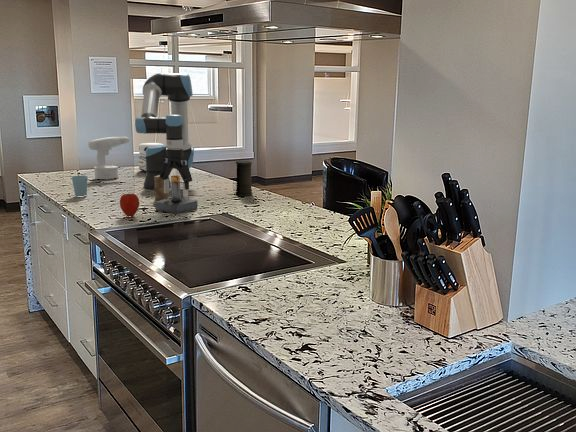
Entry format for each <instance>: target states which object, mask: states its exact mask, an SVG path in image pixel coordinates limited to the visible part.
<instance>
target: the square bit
mask: <svg viewBox="0 0 576 432" xmlns="http://www.w3.org/2000/svg"><path fill="white" fill-rule="evenodd" d="M159 176H160V175H158V176H154V185H155V189H154V200H155V199H156V200H155V201H160V200H165V199H169V198H170V197H169V193H170V192H169V193H164V186H163V179H162V178H160V177H159Z"/></svg>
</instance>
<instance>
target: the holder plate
mask: <svg viewBox="0 0 576 432" xmlns="http://www.w3.org/2000/svg"><path fill="white" fill-rule="evenodd" d="M180 200H181V202H172V197H169V199H165V200H155V202H154V210H155V209H156V210H155V211H158V210H161V211H160V212H163V211H165V212H164V213H168V212H169V213H168V214H174V215H179V213H180V214H184V213H187V212H191V211H194V210H198V209H199V208H198V204H199V203H198V200H196V199H190V198H185V197H180Z"/></svg>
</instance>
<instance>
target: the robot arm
mask: <svg viewBox="0 0 576 432" xmlns="http://www.w3.org/2000/svg"><path fill="white" fill-rule="evenodd" d="M142 95H143V99H142V100H143V101H142V107H141V114H140V117H136V118H135V121H134V123H135V124H134V127H135V132H136V133H137V134H143V135H144V134H165V139H166V140H165V141H166V144H163V145H157V146H152V147H148V148H147V149H146V156H145V157H146V172H145V173H146V175H145V178H144V182H143V188H145V189H148V190H155V185H154V176H158V175H160V176H159V177H160V178H162V179H163V186H164V193H170V188H171V178H170V175H171V172H172V171H173V169H176V170H177V171H178V173H179V176H180V178H182V181H183V182H182V198H185V197H188V196H189V189H190V182H193V178H192V173H191V171H190V168H192V167H193V164H194V163H193V162H194V154H195V148H194V147H192V144H191V143H190V141H189V116H188V113H189V112H188V102H189V101H191V97H193V88H192V80H191V77H190V75H189V74H187V73H181V72H179V73H177V72H176V73H175V72H173V73H171V72H170V73H167V72H166V73H165V72H163V73H162V72H160V73H159V72H158V73H155V74H154V75H152V76H150V77H148V78H147V80H146V81H145V82H144V84H143V87H142ZM160 97H167V100H168V101H169V102H170V106H171V107H170V108H171V109H170V111H171V114H166V115H165V117H158V114H159V113H158V110H159V103H160V102H159V101H160Z"/></svg>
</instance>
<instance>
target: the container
mask: <svg viewBox="0 0 576 432" xmlns="http://www.w3.org/2000/svg"><path fill="white" fill-rule="evenodd" d="M235 164H236V189H235V196H236V197H237V196H238V197H251V196H252V195H253V190H252V186H253V185H252V164H253V162H252V161H250V160H238V161H236V162H235Z"/></svg>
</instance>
